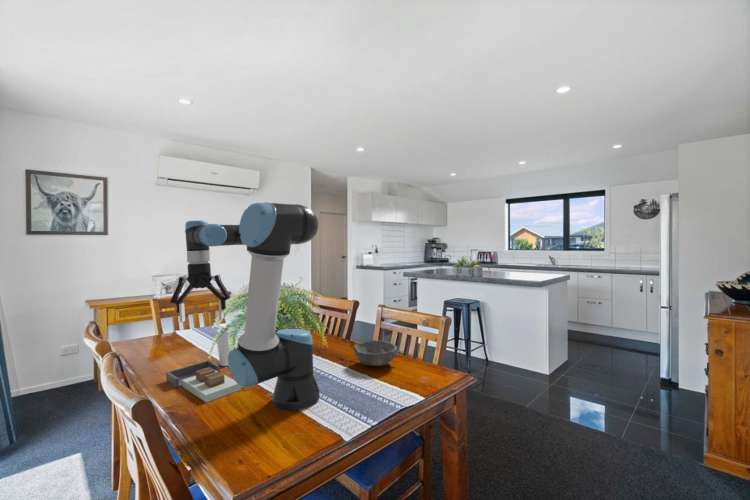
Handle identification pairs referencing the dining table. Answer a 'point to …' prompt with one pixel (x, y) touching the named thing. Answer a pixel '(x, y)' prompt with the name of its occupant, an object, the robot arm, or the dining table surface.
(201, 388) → the board
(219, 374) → the tile
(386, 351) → the bowl
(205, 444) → the dining table surface
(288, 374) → the robot arm
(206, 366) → the tray
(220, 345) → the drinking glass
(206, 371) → the tile
